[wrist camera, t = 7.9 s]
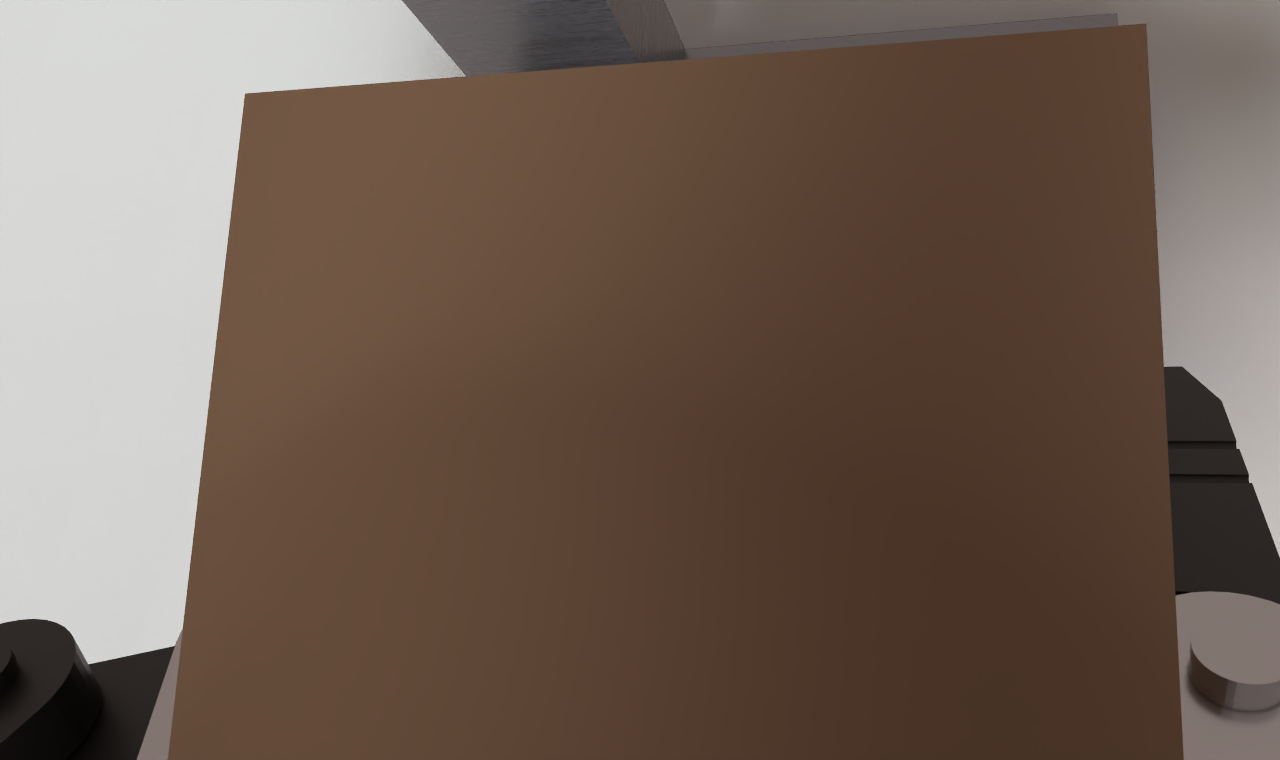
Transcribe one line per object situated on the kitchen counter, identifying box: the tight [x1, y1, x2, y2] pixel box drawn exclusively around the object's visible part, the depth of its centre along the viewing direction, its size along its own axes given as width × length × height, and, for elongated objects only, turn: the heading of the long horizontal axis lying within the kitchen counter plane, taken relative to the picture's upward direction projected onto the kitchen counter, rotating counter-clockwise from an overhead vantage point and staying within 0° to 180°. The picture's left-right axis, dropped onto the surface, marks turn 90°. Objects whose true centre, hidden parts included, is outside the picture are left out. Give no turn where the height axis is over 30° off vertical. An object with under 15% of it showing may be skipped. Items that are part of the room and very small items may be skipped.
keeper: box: [402, 0, 1118, 76], centre depth 11 cm, size 9×15×12 cm, turn 178°
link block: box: [168, 24, 1184, 760], centre depth 10 cm, size 4×4×10 cm
